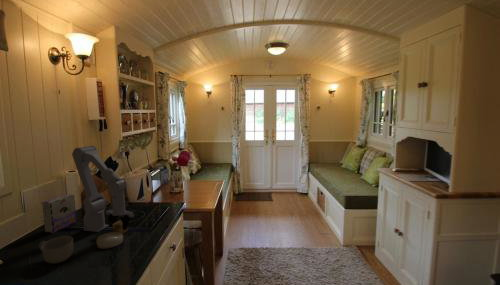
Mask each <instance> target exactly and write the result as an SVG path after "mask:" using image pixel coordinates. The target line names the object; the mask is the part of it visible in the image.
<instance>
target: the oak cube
mask: <svg viewBox="0 0 500 285" xmlns="http://www.w3.org/2000/svg"><path fill="white" fill-rule="evenodd" d="M112 225H113V226H112ZM111 226H112V232H120V233H122V234H124V233H126V232H127V231H129V226H128V227H127V229H126V230H123V223H122V220H121V219H120V220H118V221H117V222H116V223H114V224H112V223H111Z"/></svg>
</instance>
